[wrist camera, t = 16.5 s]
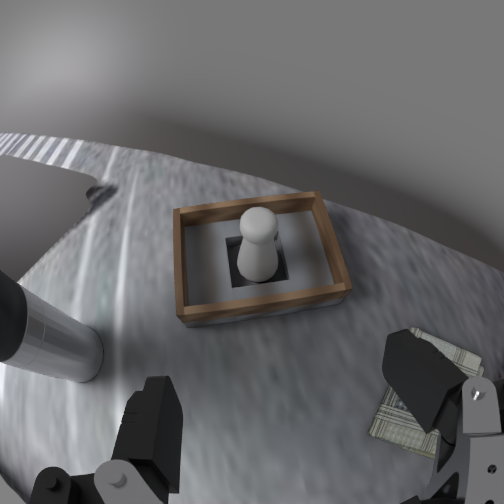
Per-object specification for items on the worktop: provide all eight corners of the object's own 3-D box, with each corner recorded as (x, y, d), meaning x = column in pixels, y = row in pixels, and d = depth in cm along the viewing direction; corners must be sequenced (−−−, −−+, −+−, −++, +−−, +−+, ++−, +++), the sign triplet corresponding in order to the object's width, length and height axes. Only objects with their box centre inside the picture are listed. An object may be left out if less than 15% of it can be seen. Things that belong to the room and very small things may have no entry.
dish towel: (361, 435, 30) (370, 438, 27) (407, 327, 38) (418, 321, 35) (447, 462, 26) (458, 464, 23) (481, 366, 33) (492, 362, 30)
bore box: (187, 327, 38) (176, 315, 32) (181, 231, 45) (173, 209, 40) (339, 303, 39) (352, 288, 34) (312, 214, 47) (319, 191, 42)
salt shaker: (240, 251, 43) (236, 195, 32) (277, 253, 43) (286, 199, 32) (236, 286, 41) (229, 239, 29) (275, 289, 40) (284, 243, 29)
